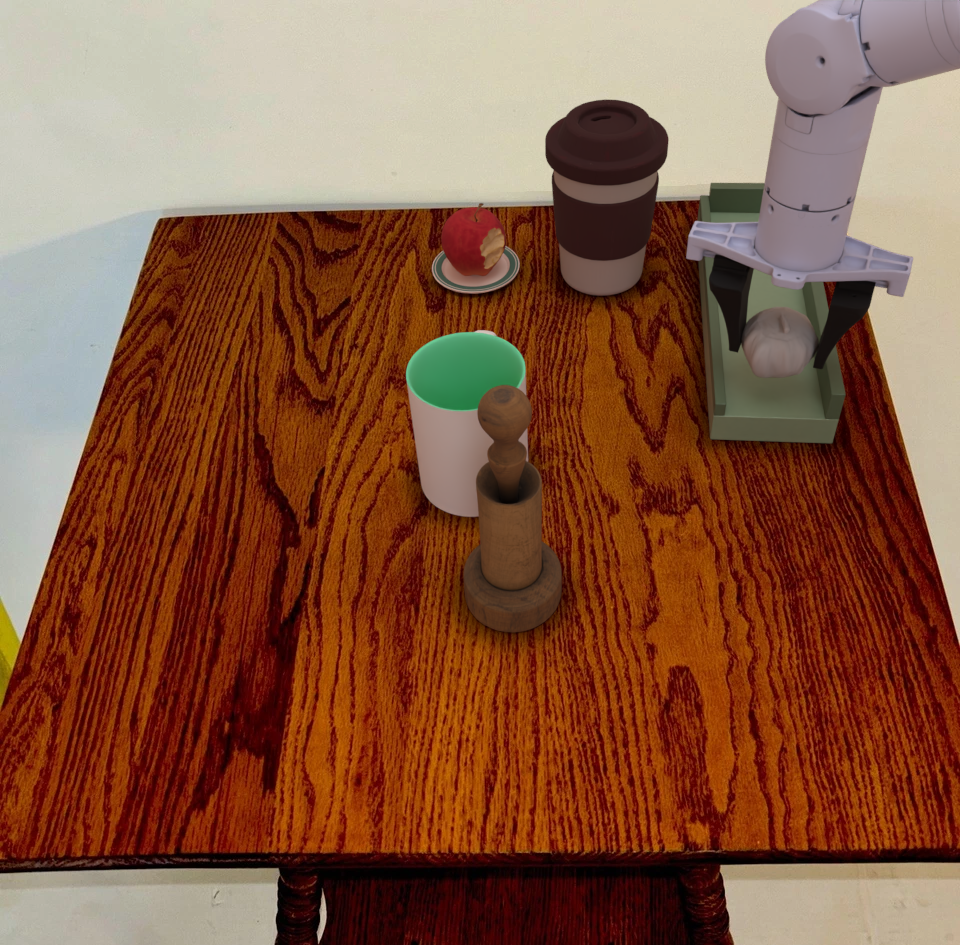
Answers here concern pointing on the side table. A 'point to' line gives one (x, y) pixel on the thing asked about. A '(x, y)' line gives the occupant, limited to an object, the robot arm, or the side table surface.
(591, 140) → the coffee cup
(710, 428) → the tray
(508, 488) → the mortar and pestle
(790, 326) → the garlic
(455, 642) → the side table surface
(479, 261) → the apple
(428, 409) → the mug
